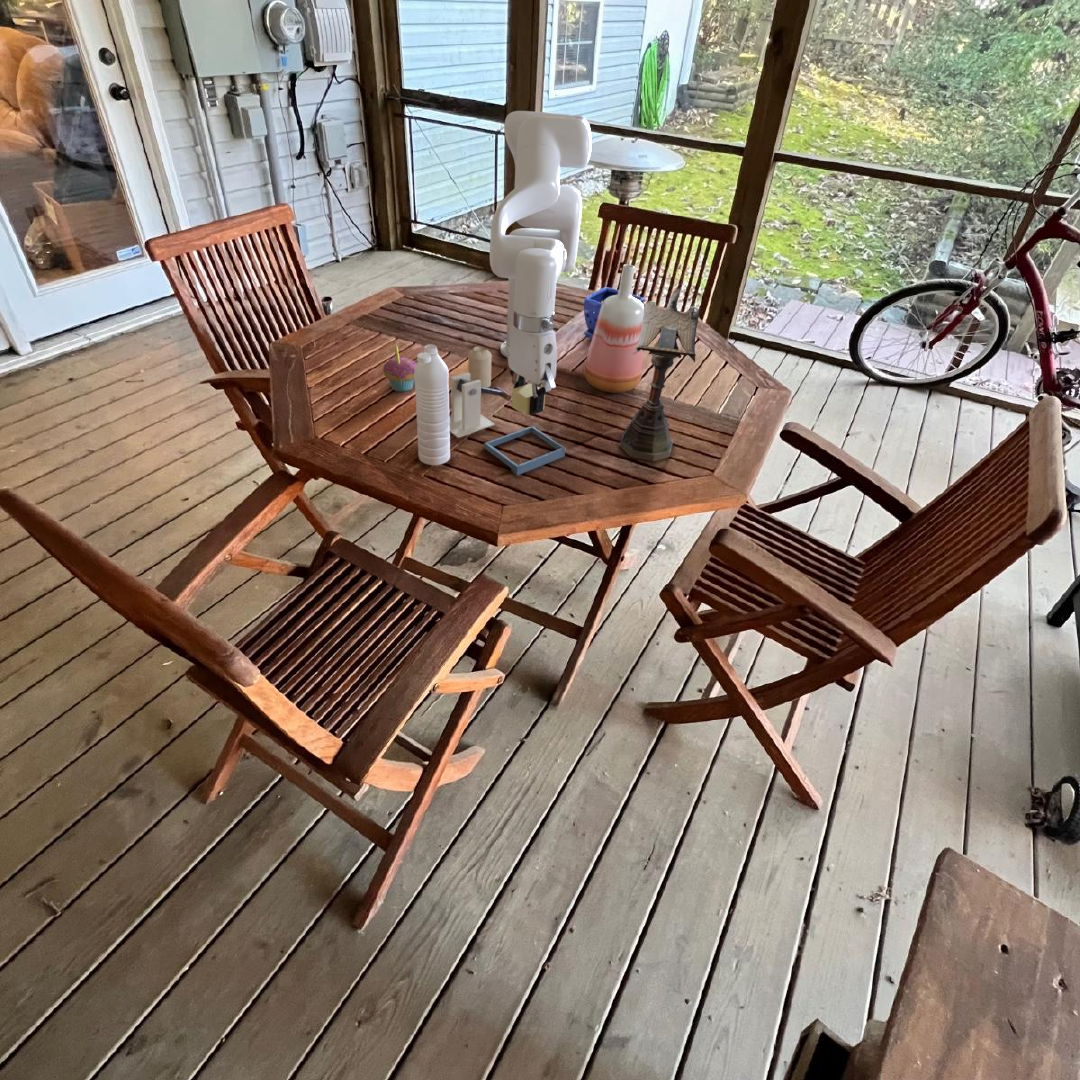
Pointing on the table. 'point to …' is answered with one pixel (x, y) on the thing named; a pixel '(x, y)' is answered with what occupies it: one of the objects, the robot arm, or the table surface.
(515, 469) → the dish
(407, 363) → the cupcake
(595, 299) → the flower pot
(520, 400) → the butter
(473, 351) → the candle
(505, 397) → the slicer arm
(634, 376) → the vase
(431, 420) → the water bottle
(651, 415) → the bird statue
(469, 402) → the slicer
